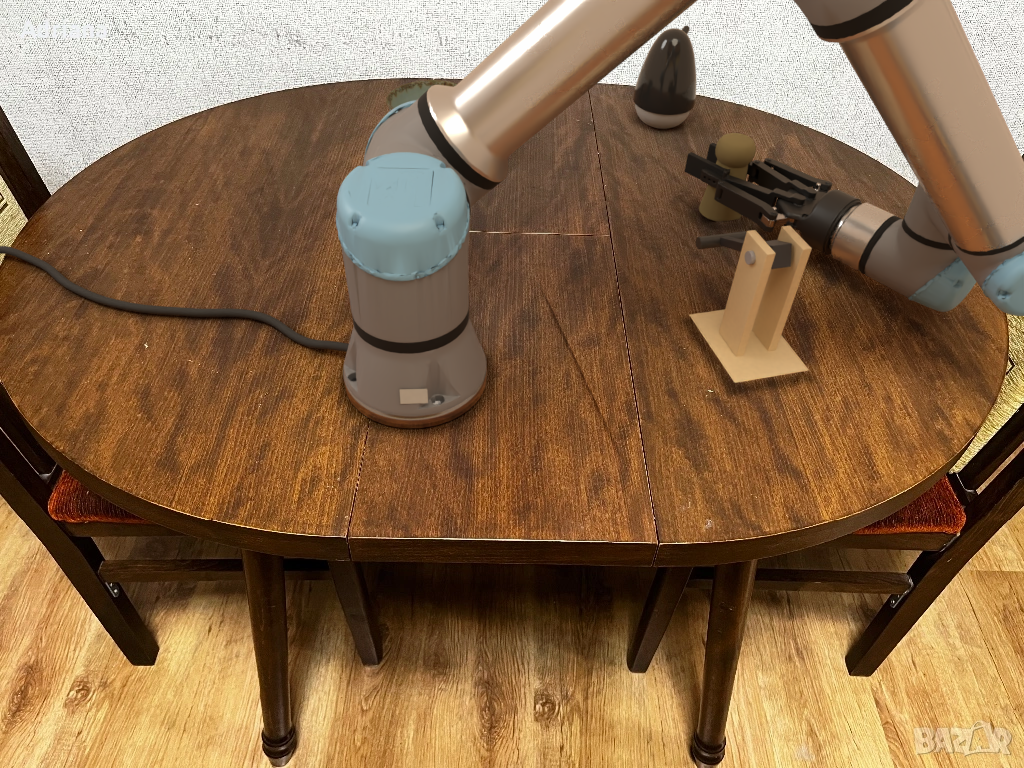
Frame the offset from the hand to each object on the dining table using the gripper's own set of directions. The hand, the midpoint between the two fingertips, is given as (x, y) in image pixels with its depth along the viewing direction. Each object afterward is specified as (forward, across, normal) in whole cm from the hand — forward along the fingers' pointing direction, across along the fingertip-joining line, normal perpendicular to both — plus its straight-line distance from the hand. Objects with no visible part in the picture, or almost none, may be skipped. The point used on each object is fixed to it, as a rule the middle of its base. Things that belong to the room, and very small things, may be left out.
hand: (699, 157), depth 107 cm
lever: (-22, -19, +3) cm, 29 cm away
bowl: (+36, -20, -7) cm, 42 cm away
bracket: (-25, -21, -7) cm, 34 cm away
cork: (-5, 0, -6) cm, 8 cm away
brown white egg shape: (+20, +16, -7) cm, 27 cm away
